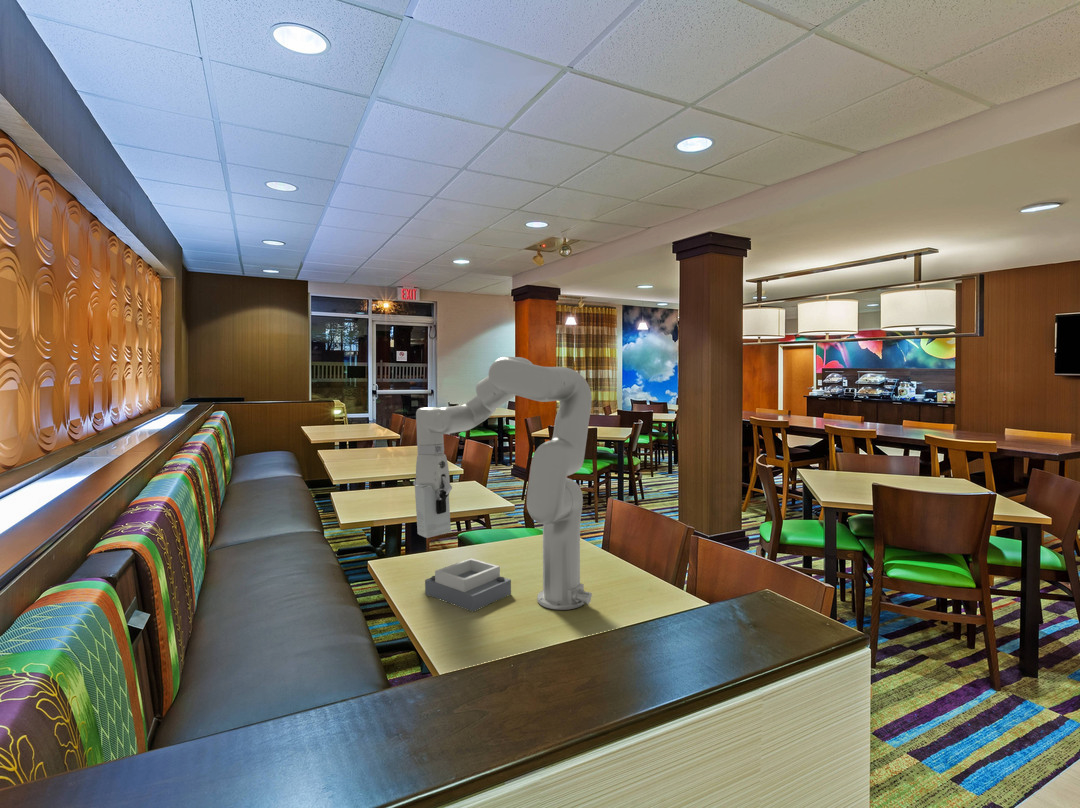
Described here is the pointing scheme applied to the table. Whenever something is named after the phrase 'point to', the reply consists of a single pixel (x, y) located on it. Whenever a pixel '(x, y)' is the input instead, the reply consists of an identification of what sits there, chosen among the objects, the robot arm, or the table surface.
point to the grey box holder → (468, 584)
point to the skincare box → (430, 513)
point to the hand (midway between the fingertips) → (433, 510)
